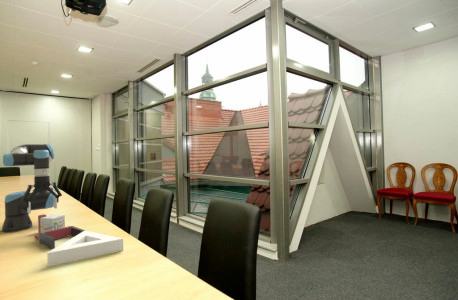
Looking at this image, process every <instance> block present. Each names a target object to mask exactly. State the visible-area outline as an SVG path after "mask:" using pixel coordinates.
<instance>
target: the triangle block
mask: <svg viewBox="0 0 458 300" xmlns="http://www.w3.org/2000/svg"><path fill="white" fill-rule="evenodd" d="M122 251H124V238H122V237H117V236H112V235H108V234H104V233H103V234H102V233H98V232H93V231H89V230H85V231H83V232H82V233H80V234H78V235H77V236H75V237H73V236H72V237H71V238H70V239H68V240H66V241H65V242H64V243H62V244H60V245H59V246H57V247H55V248H54V249H51V250H50V251H48V252H47V267H52V266H57V265H62V264H66V263H72V262H76V261H80V260H85V258H86V259H90V258H94V257H95V258H96V257H100V256H103V255H108V254H112V253H117V252H122Z"/></svg>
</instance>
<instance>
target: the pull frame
mask: <svg viewBox="0 0 458 300" xmlns="http://www.w3.org/2000/svg"><path fill="white" fill-rule="evenodd" d="M46 216H47V214H39V215H38V216H37V220H38V221H37V222H38V223H37V224H38V227H37V228H38V229H37V230H38V233H37V234H35V235H34V237H35V238H36V239H38V240H39V234H40V233H41V225H40V218H43V217H46ZM70 226H71V225H70ZM70 226H68V225H67V226H65V227H64V228H60V229H55V230H51V231H47V232H44V234H46V235H48V236H51V237H53V238H55V240H58V239H62V238H66V237H70V236H71V235H70Z"/></svg>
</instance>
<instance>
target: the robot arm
mask: <svg viewBox="0 0 458 300" xmlns="http://www.w3.org/2000/svg"><path fill="white" fill-rule="evenodd" d="M54 159H55V153H54V149H53V146H52V144H50V143H49V144H46V143H44V144H32V143H31V144H28V143H27V144H21V145H18V146H15V147H13V148H12V149H11V150H10V153H3V155H2V164H3V166H4V167H19V166H20V167H22V166H23V167H24V166H33V171H34V172H33V175H34V178H33V181H34V184H27V188H26V190H21V191H20V190H19V191H16V192H11V193H8V194H7V195H4V202H3V203H4V214H5V215H4V219H3V220H4V221H3V223H2V226H1V232H2V233H13V232H19V231H24V230H28V229H30V228H32V227H33V221H32V219H31V217H30V215H29V214H31V213H32V212H31V211H36V210H47V209H51V208H54V209H58V203H59V198H61V197H62V195H63V194H62V192H61V191H60V189H59V187H58V186H57V183H56V182H55V181H51V165H50V164H51V162H52V161H53V160H54ZM31 191H32V192H31Z"/></svg>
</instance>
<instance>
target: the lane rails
mask: <svg viewBox="0 0 458 300" xmlns="http://www.w3.org/2000/svg"><path fill="white" fill-rule="evenodd" d="M83 231H86V230H85V229H82V228H80V227H77V226H74V225H70V236H72V238H73V237H75V236H77V235H78V234H80V233H82V232H83ZM38 234H39V239H38V241H39V244H40V245H43V246H45V247H47V248H49V249H51V250H53V249H55V248H56V242H55V240H56V239H55V238H53V237H51V236H48V235H46V234H44V233H40V232H39V233H38Z"/></svg>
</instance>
